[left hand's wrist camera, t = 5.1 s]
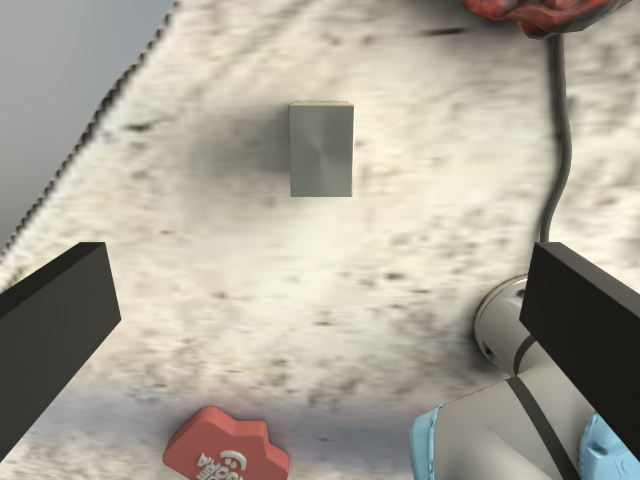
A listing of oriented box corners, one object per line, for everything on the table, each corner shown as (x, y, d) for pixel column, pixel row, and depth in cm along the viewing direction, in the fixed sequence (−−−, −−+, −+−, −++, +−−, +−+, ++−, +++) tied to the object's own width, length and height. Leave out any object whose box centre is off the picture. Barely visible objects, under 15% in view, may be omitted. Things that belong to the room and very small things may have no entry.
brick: (295, 101, 46) (288, 105, 36) (347, 101, 46) (355, 105, 36) (296, 174, 49) (290, 196, 39) (345, 174, 49) (352, 197, 39)
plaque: (305, 468, 62) (245, 516, 66) (306, 447, 65) (249, 494, 69) (213, 408, 58) (155, 463, 62) (219, 389, 61) (164, 442, 65)
